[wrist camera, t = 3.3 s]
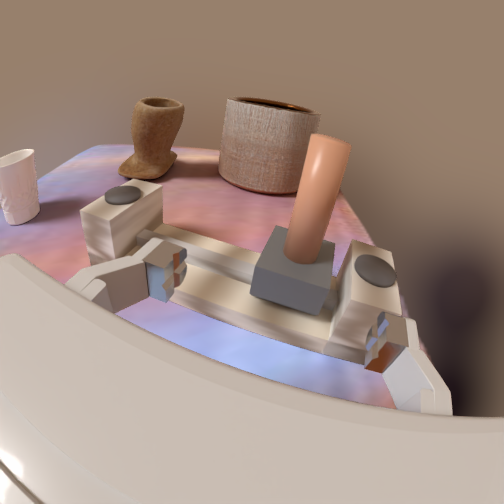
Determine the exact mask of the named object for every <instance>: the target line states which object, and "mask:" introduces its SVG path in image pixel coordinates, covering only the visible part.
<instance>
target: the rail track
mask: <svg viewBox="0 0 504 504" xmlns="http://www.w3.org/2000/svg"><path fill="white" fill-rule="evenodd" d="M162 188H163V185H159V184H154V183H150V182H146V181H141V180H137V179H132V180H130V181H128V182H126V183H125V184H123V185H121V186H118V187H114V188H112V189H110V190H108V191H107V192H106V193H105V195H104V196H102V197H100V198H99V199H97V200H95V201H94V202H92V203H90V204H89V205H87V206H86V207H84V208H82V209H81V210H80V215H81V221H82V226H83V231H84V236H85V241H86V246H87V250H88V254H89V259H90V263H91V266H94V265H97V264H101V263H104V262H108V261H111V260H115V259H118V258H122V257H125V256H133V255H134V254H135V253H136V252H137V251H138V250H140V249H141V248H142V247H143V246H144V245H145V244H146V243H147V242H149V241H150V240H151V239H152V238H155V237H156V238H159V239H162V240H164V241H168V242H170V243H173V244H176V245H178V246H181V247H184V248H186V250H187V257H186V259H185V260H184V261H185V263H186V265H187V272H186V276H185V278H184V281H183V282H182V284H181V285H180V286H178V287H176V288H174V294H173V295H172V296H171V298H170V299H169V301H171V302H173V303H176V304H178V305H181V306H183V307H186V308H188V309H191V310H193V311H196V312H199V313H201V314H204V315H206V316H209V317H212V318H214V319H217V320H220V321H222V322H225V323H228V324H231V325H233V326H236V327H239V328H242V329H245V330H248V331H251V332H254V333H256V334H259V335H262V336H265V337H268V338H272V339H275V340H278V341H281V342H284V343H287V344H290V345H294V346H297V347H300V348H304V349H307V350H310V351H314V352H317V353H321V354H324V355H328V356H332V357H335V358H339V359H343V360H347V361H350V362H354V363H358V364H362V365H365V355H366V354H367V352H368V350H367V349H366V347H365V342H366V337H367V334H368V332H369V330H370V328H371V326H372V325H374V324H376V323H377V317H378V316H379V314H380V313H381V312H382V311H384V312H387V313H391V314H394V315H397V316H401V315H402V311H401V304H400V297H399V291H398V285H397V279H396V278H397V275H396V272H395V269H394V263H393V258H392V254H391V252H389V251H386V250H383V249H380V248H377V247H375V246H372V245H369V244H366V243H363V242H360V241H357V240H353V239H352V241H351V243H350V246H349V248H348V251H347V253H346V256H345V258H344V261H343V263H342V265H341V268H340V270H339V272H338V275H337V277H334V276H331V284H330V290H329V292H328V295H327V297H326V299H325V301H324V303H323V306H322V308H321V310H320V312H319V314H318V315H315V316H314V315H311V314H308V313H304V312H301V311H298V310H295V309H292V308H288V307H285V306H282V305H279V304H276V303H273V302H270V301H267V300H264V299H261V298H258V297H255V296H252V295H251V294H249V293H250V288H251V283H252V278H253V273H254V268H255V265H256V263H257V261H258V259H259V257H260V255H261V254H260V253H257V252H254V251H251V250H247V249H244V248H241V247H238V246H235V245H231V244H228V243H225V242H222V241H219V240H215V239H212V238H209V237H206V236H203V235H199V234H196V233H193V232H190V231H186V230H183V229H180V228H177V227H174V226H170V225H167V224H164V223H163V204H162Z"/></svg>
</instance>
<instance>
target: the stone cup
mask: <svg viewBox="0 0 504 504" xmlns="http://www.w3.org/2000/svg"><path fill="white" fill-rule="evenodd" d="M183 114H184V105H183V104H182V103H181V102H178V101H176V100H173V99H169V98H164V97H147V98H144V99H141V100H140V101H139V102H137V104H136V106H135V108H134V111H133V116H132V124H131V134H132V138H133V142H134V150H135V153H134V154H133V155H132V156H131V157H129V158H128V159H127V160H126V161H125V162H124V163H122V164H121V166H120V167H119V169H118V173H119V174H120V175H122V176H124V177H127V178H133V179H155V178H158V177H160V176H162V175H163V174H164V173H166V172H167V171H168V169H169V168H170V167H171V165H172V164H173V162H174V161H175V159H176V158H177V154H176V153H174V152H173V151H171V147H172V144H173V142H174V140H175V137H176V135H177V133H178V131H179V129H180V127H181V124H182V120H183Z"/></svg>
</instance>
